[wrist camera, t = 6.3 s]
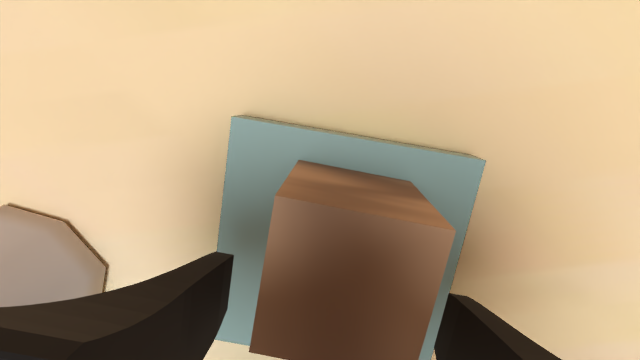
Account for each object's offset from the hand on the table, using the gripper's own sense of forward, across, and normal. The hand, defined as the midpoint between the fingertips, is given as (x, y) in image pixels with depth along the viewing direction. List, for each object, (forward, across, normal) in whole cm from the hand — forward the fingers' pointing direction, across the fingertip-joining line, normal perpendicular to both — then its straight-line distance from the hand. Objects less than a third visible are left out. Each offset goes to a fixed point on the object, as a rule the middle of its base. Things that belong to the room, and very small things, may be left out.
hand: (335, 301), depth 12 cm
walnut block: (+3, 0, -2) cm, 4 cm away
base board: (+5, 0, 0) cm, 5 cm away
